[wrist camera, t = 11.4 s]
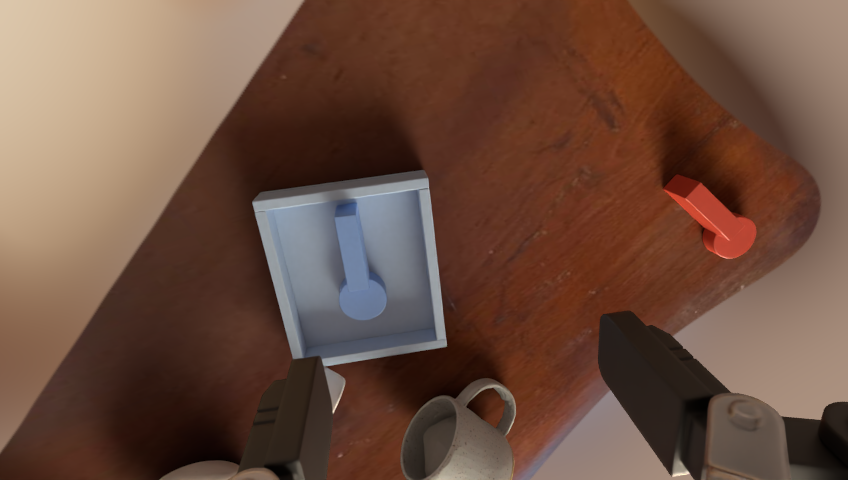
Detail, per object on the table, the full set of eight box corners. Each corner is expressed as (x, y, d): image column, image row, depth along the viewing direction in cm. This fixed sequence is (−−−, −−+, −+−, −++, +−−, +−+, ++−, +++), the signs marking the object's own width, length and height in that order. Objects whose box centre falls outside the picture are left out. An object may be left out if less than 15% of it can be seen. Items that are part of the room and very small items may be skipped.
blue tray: (259, 192, 35) (251, 201, 32) (424, 169, 35) (428, 177, 33) (300, 352, 40) (296, 371, 38) (442, 330, 41) (447, 346, 38)
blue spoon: (322, 207, 35) (317, 219, 32) (371, 200, 35) (371, 211, 32) (344, 314, 39) (342, 334, 36) (389, 307, 39) (390, 326, 36)
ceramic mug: (457, 467, 47) (474, 539, 40) (395, 431, 44) (401, 501, 37) (529, 397, 45) (560, 460, 38) (468, 355, 42) (490, 413, 35)
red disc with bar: (652, 198, 38) (674, 209, 36) (686, 163, 38) (711, 171, 35) (718, 259, 41) (744, 274, 39) (751, 227, 41) (779, 239, 38)
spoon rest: (239, 540, 48) (218, 619, 41) (128, 499, 44) (86, 579, 37) (376, 390, 42) (378, 453, 36) (263, 328, 38) (241, 386, 32)
